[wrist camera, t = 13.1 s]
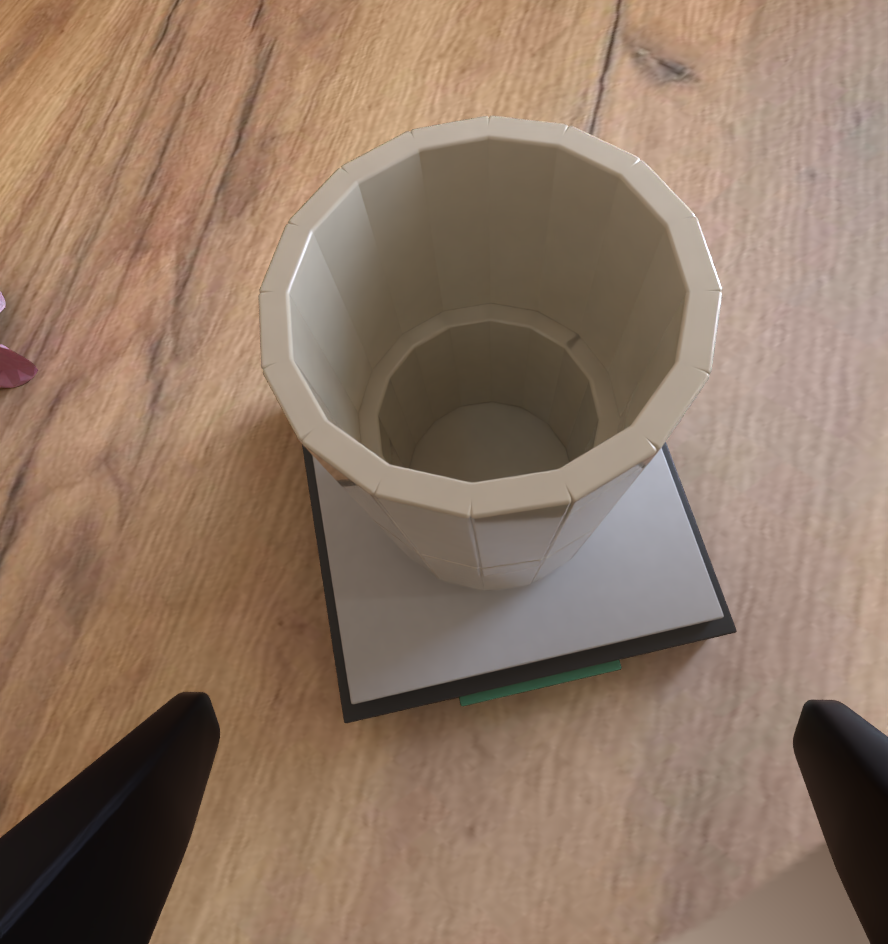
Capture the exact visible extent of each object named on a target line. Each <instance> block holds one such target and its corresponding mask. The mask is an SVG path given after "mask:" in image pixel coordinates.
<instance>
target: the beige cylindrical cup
mask: <svg viewBox="0 0 888 944" xmlns="http://www.w3.org/2000/svg"><path fill="white" fill-rule="evenodd" d="M721 291H722V288H721V285H720V282H719V279H718V276H717V273H716V270H715V268H714V265H713V262H712V259H711V256H710V253H709V250H708V247H707V245H706V242H705V239H704V236H703V233H702V230H701V227H700V224H699V221H698V219H697V217H695V215H694V213H693V212H692V211H691V210H690V209H689V208H688V207H687V206H686V205H685V204H684V203H683V202H682V200H681V199H680V198H679V197H678V196H677V195H676V194H675V193H674V192H673V191H672V190H671V189H670V188H669V187H668V186H667V185H666V184H665V183H664V182H663V181H662V180H661V179H660V177H659V176H658V175H657V174H656V173H655V172H654V171H653V170H652V169H651V168H650V167H649V166H648V165H647V164H646V163H645V162H644V161H642V160H640V158H639V157H637V156H635V155H633V154H631V153H628V152H626V151H624V150H622V149H620V148H618V147H616V146H614V145H611V144H609V143H607V142H605V141H603V140H601V139H599V138H597V137H594V136H592V135H590V134H588V133H586V132H584V131H582V130H579V129H577V128H575V127H573V126H569V127H568V125H566V124H560V123H551V122H543V121H534V120H526V119H517V118H508V117H500V116H490V117H489V118H488V116H482V117H476V118H471V119H465V120H460V121H455V122H449V123H444V124H438V125H433V126H428V127H422V128H417V129H413V130H411V132H409V131H406V132H405V133H403V134H401V135H399V136H397V137H395V138H393V139H391V140H389V141H387V142H386V143H384V144H382V145H380V146H378V147H376V148H374V149H372V150H370V151H368V152H367V153H365V154H363V155H361V156H359V157H357V158H355V159H353V160H351V161H350V162H348V163H346V164H344V165H342V166H341V168H339V169H337V170H336V171H335V172H334V173H333V174H332V175H331V176H330V177H329V178H328V180H327V181H326V182H325V183H324V184H323V185H322V186H321V187H320V188H319V189H318V190H317V191H316V192H315V193H314V194H313V195H312V196H311V197H310V199H309V200H308V201H307V202H306V203H305V204H304V205H303V206H302V207H301V208H300V209H299V210H298V211H297V212H296V213H295V214H294V215H293V216H292V218H291V219H290V220H289V221H288V224H287V225H286V226H285V228H284V231H283V233H282V236H281V238H280V240H279V243H278V245H277V248H276V250H275V253H274V255H273V258H272V260H271V263H270V265H269V268H268V270H267V272H266V275H265V277H264V280H263V282H262V285H261V287H260V294H259V322H260V347H261V367H262V369H263V375H264V377H265V378H266V380H267V382H268V384H269V386H270V388H271V390H272V391H273V393H274V395H275V397H276V399H277V401H278V403H279V404H280V406H281V408H282V410H283V412H284V414H285V416H286V417H287V419H288V421H289V423H290V425H291V427H292V429H293V430H294V432H295V434H296V436H297V438H298V440H299V441H300V442H301V443H302V444H303V445H304V447H305V448H306V449H307V450H308V451H309V452H310V453H311V454H312V455H313V456H314V457H315V458H316V459H317V460H318V462H319V463H320V464H321V465H322V466H323V467H324V468H325V469H326V470H327V471H328V472H329V473H330V474H331V475H332V476H333V478H334V479H335V480H336V481H337V482H338V483H339V484H340V485H341V486H342V487H343V488H344V489H345V490H346V491H347V493H348V494H349V495H350V496H351V497H352V498H353V499H354V500H355V501H356V502H357V503H358V504H359V505H360V506H361V508H362V509H363V510H364V511H365V512H366V513H367V514H368V515H369V516H370V517H371V518H372V519H373V520H374V521H375V522H376V523H377V525H378V526H379V527H380V528H381V529H382V530H383V531H384V532H385V533H386V534H387V535H388V536H389V537H390V538H391V540H392V541H393V542H394V543H395V544H396V545H397V546H398V547H399V548H400V549H401V550H402V551H403V552H404V553H405V554H406V555H407V556H408V557H410V558H411V559H412V560H413V561H415V562H416V563H417V564H419V565H420V566H421V567H423V568H424V569H425V570H427V571H428V572H429V573H431V574H432V575H433V576H435V577H436V578H437V579H440V580H442V581H445V582H449V583H453V584H457V585H461V586H465V587H469V588H473V589H477V590H481V591H484V590H485V591H492V590H499V589H505V588H512V587H519V586H525V585H530V584H531V583H534V582H536V581H538V580H539V579H541V578H543V577H544V576H546V575H547V574H549V573H551V572H552V571H554V570H556V569H557V568H559V567H560V566H562V565H564V564H565V563H567V562H569V560H570V559H572V558H573V557H574V556H575V554H576V553H577V552H578V551H579V549H580V548H581V547H582V546H583V544H584V543H585V542H586V541H587V539H588V538H589V537H590V536H591V535H592V533H593V532H594V531H595V530H596V528H597V527H598V526H599V525H600V523H601V522H602V521H603V520H604V518H605V517H606V516H607V515H608V513H609V512H610V511H611V510H612V508H613V507H614V506H615V505H616V504H617V502H618V501H619V500H620V499H621V497H622V496H623V495H624V494H625V492H626V491H627V490H628V489H629V487H630V486H631V485H632V484H633V483H634V481H635V480H636V479H637V478H638V476H639V475H640V474H641V473H642V471H643V470H644V469H645V468H646V466H647V465H648V464H649V463H650V462H651V460H652V459H653V458H654V457H655V455H656V454H657V453H658V452H659V450H660V449H661V448H662V446H663V445H664V443H665V442H666V441H667V439H668V438H669V436H670V435H671V433H672V432H673V430H674V429H675V427H676V426H677V425H678V423H679V422H680V420H681V419H682V417H683V416H684V414H685V413H686V411H687V410H688V409H689V407H690V406H691V404H692V403H693V401H694V400H695V398H696V397H697V395H698V394H699V393H700V391H701V390H702V388H703V387H704V385H705V384H706V382H707V381H708V379H709V375H710V373H711V371H712V364H713V357H714V350H715V343H716V335H717V328H718V321H719V314H720V306H721V299H722V294H721Z"/></svg>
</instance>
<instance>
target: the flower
mask: <svg viewBox="0 0 888 944" xmlns="http://www.w3.org/2000/svg"><path fill="white" fill-rule="evenodd" d="M4 308H6V307H5V299H4V297H3V295H2V293H1V291H0V312H1V311H2V310H3V309H4ZM37 371H38V369H37V368H36V366H35V365H34V364H33V363H31V362H30V361H29V360H28V359H26V358H24V357H23V356H21V355H19V354H17V353H15V352H14V351H12V350H10V349H8V348H7V347H5V346H4V345H1V344H0V388H10V387H16V386H19V385H22V384H25V383H26V382H28V381H29V380H30V379H32V378H33V377H34V376H35V374H36V373H37Z"/></svg>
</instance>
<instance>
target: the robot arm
mask: <svg viewBox="0 0 888 944" xmlns="http://www.w3.org/2000/svg"><path fill="white" fill-rule="evenodd" d="M219 739H220V727H219V723H218V721H217V718H216V715H215V712H214V709H213V706H212V703H211V700H210V698H209V696H208V695H207V694H206V693H204V692H182V693H179V694H177V695H176V696H174V697H173V698H172V699H171V700H169V701H168V702H167V703H166V704H165V705H163V706H162V707H161V708H160V709H158V710H157V711H156V712H155V713H153V714H152V715H151V716H150V717H149V718H147V719H146V720H145V721H144V722H142V723H141V724H140V725H139V726H137V727H136V728H135V729H134V730H133V731H131V732H130V733H129V734H128V735H126V736H125V737H124V738H123V739H121V740H120V741H119V742H118V743H117V744H115V745H114V746H113V747H112V748H110V749H109V750H108V751H107V752H105V753H104V754H103V755H102V756H101V757H99V758H98V759H97V760H96V761H94V762H93V763H92V764H91V765H89V766H88V767H87V768H86V769H85V770H83V771H82V772H81V773H80V774H78V775H77V776H76V777H75V778H73V779H72V780H71V781H70V782H69V783H67V784H66V785H65V786H64V787H62V788H61V789H60V790H59V791H57V792H56V793H55V794H54V795H53V796H51V797H50V798H49V799H48V800H46V801H45V802H44V803H43V804H41V805H40V806H39V807H38V808H37V809H35V810H34V811H33V812H32V813H30V814H29V815H28V816H27V817H25V818H24V819H23V820H22V821H21V822H19V823H18V824H17V825H16V826H14V827H13V828H12V829H11V830H9V831H8V832H7V833H6V834H5V835H3V836H2V837H1V838H0V944H149V941H150V939H151V936H152V934H153V931H154V929H155V926H156V924H157V921H158V919H159V916H160V914H161V911H162V909H163V907H164V904H165V902H166V899H167V897H168V894H169V892H170V889H171V887H172V884H173V882H174V879H175V877H176V874H177V872H178V869H179V867H180V864H181V862H182V859H183V857H184V854H185V851H186V849H187V846H188V843H189V840H190V837H191V834H192V831H193V828H194V825H195V821H196V818H197V815H198V811H199V808H200V805H201V801H202V798H203V794H204V791H205V788H206V784H207V781H208V778H209V774H210V771H211V768H212V764H213V761H214V758H215V754H216V751H217V748H218V744H219ZM793 748H794V753H795V756H796V759H797V762H798V765H799V768H800V770H801V773H802V776H803V779H804V782H805V784H806V787H807V790H808V793H809V796H810V798H811V801H812V804H813V807H814V810H815V813H816V815H817V818H818V821H819V824H820V827H821V829H822V832H823V835H824V838H825V841H826V843H827V846H828V849H829V852H830V854H831V856H832V859H833V862H834V865H835V867H836V870H837V872H838V874H839V876H840V879H841V881H842V883H843V885H844V888H845V890H846V892H847V894H848V896H849V898H850V901H851V903H852V905H853V907H854V909H855V911H856V914H857V916H858V918H859V920H860V922H861V924H862V926H863V928H864V931H865V933H866V935H867V937H868V939H869V941H870V944H888V737H887V736H886V735H885V734H883V733H882V732H881V731H879V730H878V729H877V728H875V727H874V726H873V725H871V724H870V723H869V722H867V721H866V720H865V719H863V718H862V717H861V716H859V715H858V714H857V713H855V712H854V711H853V710H851V709H850V708H849V707H847V706H846V705H844V704H843V703H841V702H839V701H835V700H809V701H807V702H806V703H805V704H804V706H803V709H802V712H801V715H800V718H799V721H798V724H797V727H796V730H795V733H794V737H793Z"/></svg>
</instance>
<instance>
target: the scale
mask: <svg viewBox="0 0 888 944" xmlns="http://www.w3.org/2000/svg"><path fill="white" fill-rule="evenodd" d="M302 447H303V453H304V460H305V467H306V473H307V480H308V486H309V493H310V500H311V506H312V513H313V519H314V526H315V533H316V539H317V546H318V553H319V559H320V566H321V572H322V579H323V586H324V592H325V599H326V605H327V612H328V619H329V625H330V632H331V639H332V645H333V652H334V658H335V665H336V672H337V678H338V685H339V691H340V698H341V705H342V711H343V718H344V723H350V722H354V721H359V720H363V719H367V718H372V717H376V716H380V715H384V714H389V713H393V712H397V711H402V710H406V709H410V708H414V707H419V706H423V705H427V704H432V703H436V702H440V701H444V700H449V699H453V698H457V697H459V699H460V704H461V706H466V705H471V704H475V703H479V702H483V701H488V700H492V699H496V698H501V697H505V696H509V695H513V694H518V693H522V692H526V691H531V690H535V689H539V688H543V687H548V686H552V685H556V684H561V683H565V682H569V681H573V680H578V679H582V678H586V677H591V676H595V675H599V674H603V673H608V672H612V671H616V670H621V668H622V667H621V664H620V661H619V660H620V659H624V658H629V657H633V656H637V655H641V654H646V653H650V652H654V651H659V650H663V649H667V648H671V647H676V646H680V645H684V644H689V643H693V642H697V641H701V640H706V639H710V638H714V637H719V636H723V635H727V634H731V633H735V632H736V628H735V625H734V622H733V620H732V617H731V614H730V612H729V609H728V606H727V604H726V601H725V598H724V596H723V593H722V590H721V588H720V585H719V582H718V580H717V577H716V574H715V572H714V569H713V566H712V564H711V561H710V558H709V556H708V553H707V550H706V548H705V545H704V542H703V540H702V537H701V534H700V532H699V529H698V526H697V524H696V521H695V518H694V516H693V513H692V511H691V508H690V505H689V503H688V500H687V497H686V495H685V492H684V489H683V487H682V484H681V481H680V479H679V476H678V473H677V471H676V468H675V465H674V463H673V460H672V457H671V455H670V452H669V449H668V447H667V444H666V442H665V443H664V445H663V446H662V448H661V449H660V450H659V452H658V453H657V454H656V455H655V457H654V458H653V459H652V460H651V462H650V463H649V464H648V465H647V466H646V468H645V469H644V470H643V471H642V473H641V474H640V475H639V476H638V478H637V479H636V480H635V481H634V483H633V484H632V485H631V486H630V487H629V489H628V490H627V491H626V492H625V494H624V495H623V496H622V497H621V499H620V500H619V501H618V502H617V504H616V505H615V506H614V507H613V508H612V510H611V511H610V512H609V513H608V515H607V516H606V517H605V518H604V520H603V521H602V522H601V523H600V525H599V526H598V527H597V528H596V530H595V531H594V532H593V533H592V535H591V536H590V537H589V538H588V539H587V541H586V542H585V543H584V544H583V546H582V547H581V548H580V549H579V551H578V552H577V553H576V554H575V556H574V557H573V558H572V559H570V560H569V562H567V563H565V564H564V565H562V566H560V567H559V568H557V569H556V570H554V571H552V572H551V573H549V574H547V575H546V576H544V577H543V578H541V579H539V580H538V581H536V582H534V583H531V584H530V585H525V586H519V587H512V588H505V589H499V590H492V591H485V590H484V591H481V590H477V589H473V588H469V587H465V586H461V585H457V584H453V583H449V582H445V581H442V580H440V579H437V578H436V577H435V576H433V575H432V574H431V573H429V572H428V571H427V570H425V569H424V568H423V567H421V566H420V565H419V564H417V563H416V562H415V561H413V560H412V559H411V558H410V557H408V556H407V555H406V554H405V553H404V552H403V551H402V550H401V549H400V548H399V547H398V546H397V545H396V544H395V543H394V542H393V541H392V540H391V538H390V537H389V536H388V535H387V534H386V533H385V532H384V531H383V530H382V529H381V528H380V527H379V526H378V525H377V523H376V522H375V521H374V520H373V519H372V518H371V517H370V516H369V515H368V514H367V513H366V512H365V511H364V510H363V509H362V508H361V506H360V505H359V504H358V503H357V502H356V501H355V500H354V499H353V498H352V497H351V496H350V495H349V494H348V493H347V491H346V490H345V489H344V488H343V487H342V486H341V485H340V484H339V483H338V482H337V481H336V480H335V479H334V478H333V476H332V475H331V474H330V473H329V472H328V471H327V470H326V469H325V468H324V467H323V466H322V465H321V464H320V463H319V462H318V460H317V459H316V458H315V457H314V456H313V455H312V454H311V453H310V452H309V451H308V450H307V449H306V448H305V447H304V445H303V444H302Z"/></svg>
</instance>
